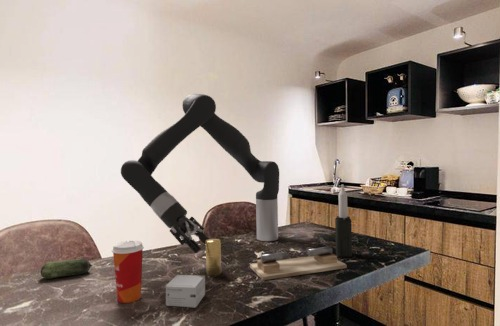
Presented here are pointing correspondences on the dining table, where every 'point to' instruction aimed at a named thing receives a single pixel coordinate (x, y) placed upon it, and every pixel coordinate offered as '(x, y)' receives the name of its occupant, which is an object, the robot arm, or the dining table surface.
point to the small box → (185, 291)
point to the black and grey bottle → (343, 227)
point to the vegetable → (65, 268)
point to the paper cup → (128, 270)
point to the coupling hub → (213, 257)
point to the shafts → (284, 256)
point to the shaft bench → (296, 266)
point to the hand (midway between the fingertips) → (204, 247)
